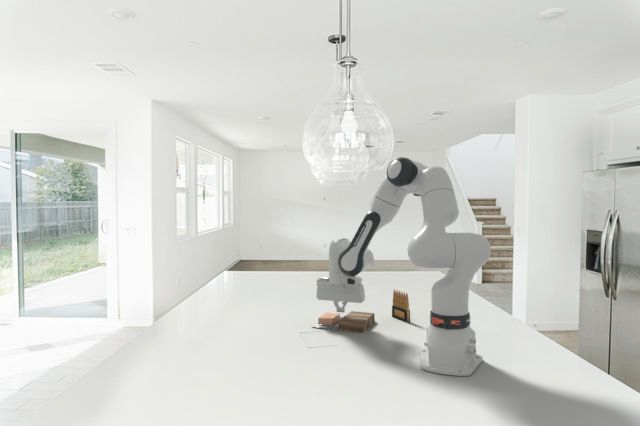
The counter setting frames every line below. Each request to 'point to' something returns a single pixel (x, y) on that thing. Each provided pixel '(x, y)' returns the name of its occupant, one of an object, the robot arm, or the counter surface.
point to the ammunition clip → (400, 306)
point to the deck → (356, 321)
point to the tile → (329, 318)
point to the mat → (334, 326)
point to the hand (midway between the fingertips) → (340, 311)
